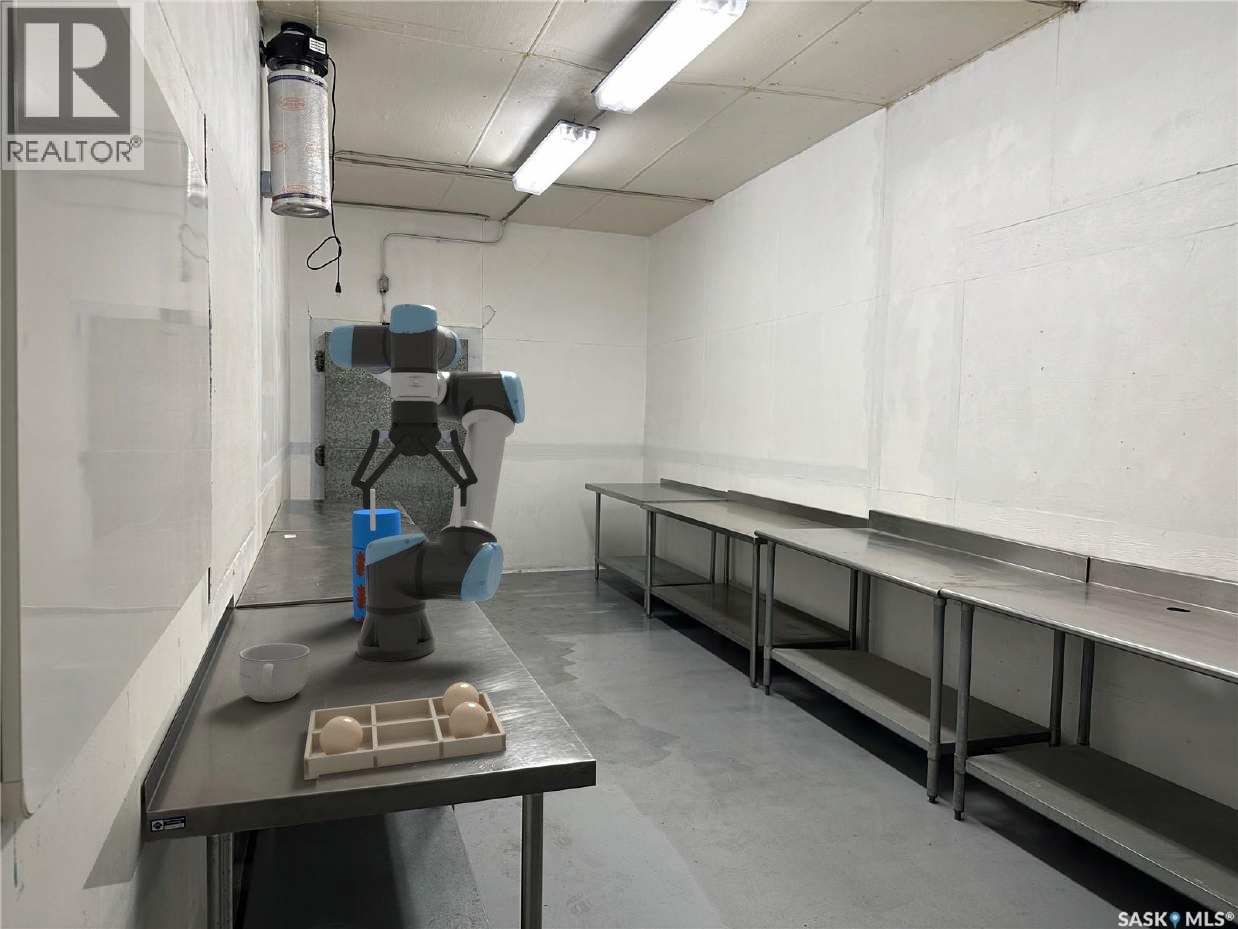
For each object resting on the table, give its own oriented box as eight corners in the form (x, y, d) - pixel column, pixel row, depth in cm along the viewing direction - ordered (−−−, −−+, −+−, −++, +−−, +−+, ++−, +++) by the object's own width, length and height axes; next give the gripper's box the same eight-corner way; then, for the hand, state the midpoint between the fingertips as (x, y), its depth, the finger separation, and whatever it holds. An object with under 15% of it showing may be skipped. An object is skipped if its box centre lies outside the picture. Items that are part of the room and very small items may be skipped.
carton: (311, 727, 118) (311, 710, 117) (485, 708, 126) (485, 691, 126) (304, 780, 101) (303, 759, 101) (505, 753, 109) (505, 734, 109)
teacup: (254, 686, 136) (253, 641, 135) (318, 684, 137) (317, 640, 136) (220, 716, 122) (219, 666, 121) (292, 715, 123) (291, 665, 122)
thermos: (343, 620, 179) (341, 513, 178) (374, 609, 189) (372, 508, 188) (381, 625, 175) (380, 515, 174) (410, 614, 185) (410, 510, 184)
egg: (321, 752, 108) (319, 712, 108) (363, 746, 110) (362, 707, 110) (319, 769, 103) (317, 727, 103) (363, 762, 105) (362, 722, 104)
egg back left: (440, 714, 122) (440, 679, 122) (476, 710, 124) (476, 675, 123) (444, 728, 117) (444, 691, 116) (481, 723, 118) (481, 687, 118)
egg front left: (446, 735, 114) (446, 698, 113) (484, 731, 116) (484, 694, 115) (451, 751, 109) (450, 712, 108) (491, 746, 110) (490, 707, 110)
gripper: (333, 398, 120) (335, 534, 122) (494, 400, 128) (494, 527, 130) (334, 399, 127) (336, 527, 129) (486, 401, 135) (487, 522, 137)
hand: (415, 528), depth 129 cm, fingers open, 13 cm apart
